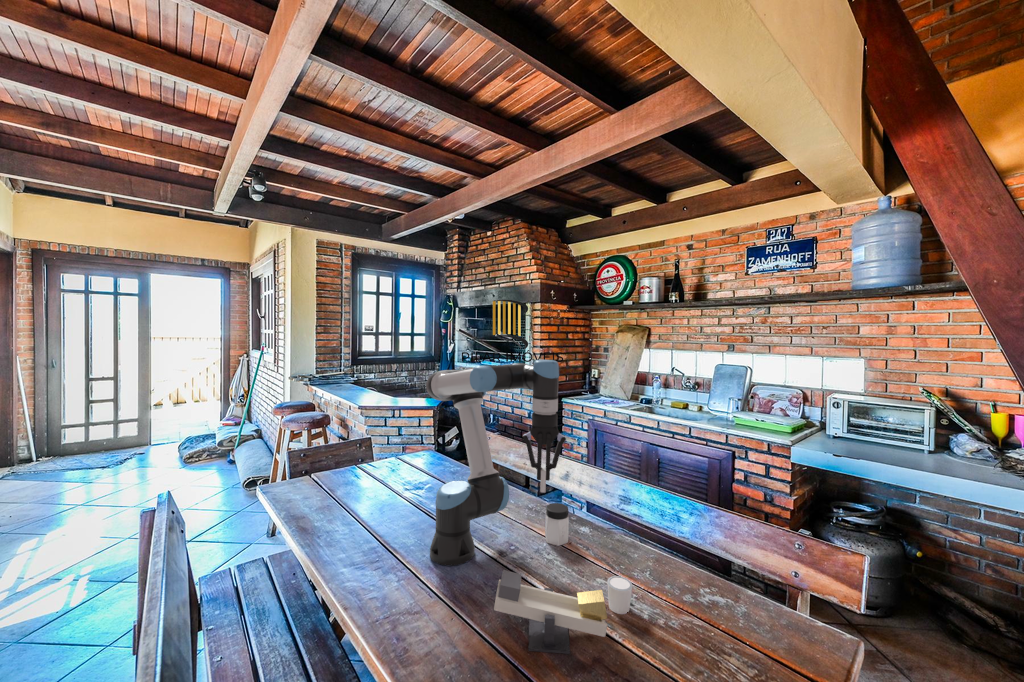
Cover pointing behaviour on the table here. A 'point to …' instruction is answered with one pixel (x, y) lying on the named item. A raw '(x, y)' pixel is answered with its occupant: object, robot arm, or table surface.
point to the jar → (556, 524)
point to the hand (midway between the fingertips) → (542, 490)
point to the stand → (548, 635)
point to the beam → (542, 605)
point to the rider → (592, 605)
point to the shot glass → (619, 594)
